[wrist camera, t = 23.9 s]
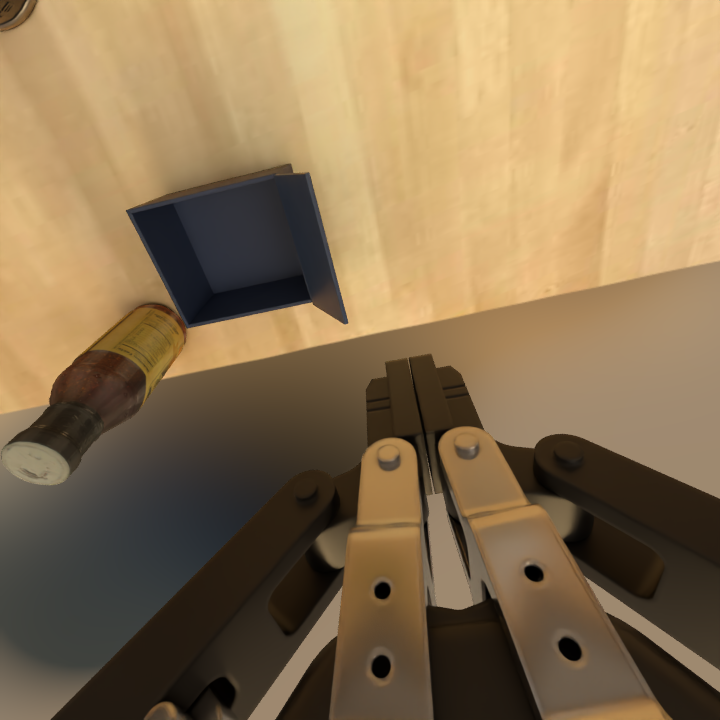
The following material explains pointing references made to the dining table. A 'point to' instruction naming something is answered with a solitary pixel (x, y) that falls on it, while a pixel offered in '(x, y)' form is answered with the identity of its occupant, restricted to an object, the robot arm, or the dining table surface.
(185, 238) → the carton
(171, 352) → the sauce bottle
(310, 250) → the flap
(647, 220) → the dining table surface
